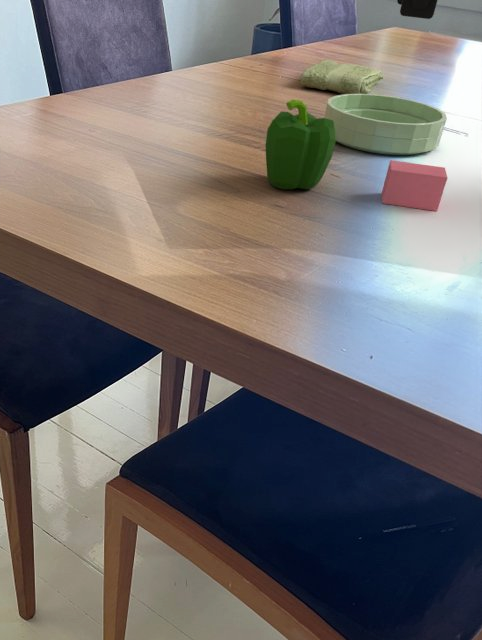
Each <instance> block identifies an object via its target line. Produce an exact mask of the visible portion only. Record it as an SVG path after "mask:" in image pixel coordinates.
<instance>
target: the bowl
mask: <svg viewBox="0 0 482 640" xmlns="http://www.w3.org/2000/svg"><path fill="white" fill-rule="evenodd" d="M323 118H326V119H330V120H333V121H334V127H335V136H336V143H339V144H341V145H342V146H345V147H349V148H352V149H355V150H359V151H363V152H367V153H374V154H381V155H389V156H390V155H391V156H408V155H409V156H410V155H418V154H421V153H426V152H431V151H434V150H436V148H438V147H439V146H440V143H441V138H442V136H443V133H444V129H445V125H446V122H447V119H448V117H447V114H446V112H444V111H443V110H441V109H439V108H437V107H435V106H433V105H430V104H428V103H423V102H421V101H417V100H413V99H409V98H403V97H398V96H393V95H392V96H391V95H384V94H376V93H375V94H373V93H370V94H369V93H364V94H338V95H334V96H332V97H329V98H328V99H327V102H326V108H325V113H324V117H323Z"/></svg>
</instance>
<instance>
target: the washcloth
mask: <svg viewBox="0 0 482 640" xmlns="http://www.w3.org/2000/svg"><path fill="white" fill-rule="evenodd" d="M383 79H384V74H383V73H382V71H381V70H379V69H376V68H373V67H369V66H368V67H366V66H363V65H361V64H359V65H357V64H352V63H348V64H347V63H337V62H336V61H334V60H331V59H326V60H320V61H319V62H317V63H315V64H314V65H312V66H309V67H308V68H306V69H304V71H303V72H302V74H301V76H300V85H301V86H303V87H305V88H310V89H316V90H321V91H331V92H335V93H338V94H340V95H343V94H369V92H371V91H372V89H373V88H374V86H376V84H378V83H379V82H380V81H381V80H383Z"/></svg>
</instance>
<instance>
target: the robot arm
mask: <svg viewBox="0 0 482 640" xmlns="http://www.w3.org/2000/svg"><path fill="white" fill-rule="evenodd" d="M396 1H397V4H398V5H400V9H399V14H400V16H402V17H407V18H408V17H409V18H417V19H424V20H430V19H432V18H433V17H434V15H435V12H436V7H437V4H438V0H396Z"/></svg>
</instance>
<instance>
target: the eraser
mask: <svg viewBox="0 0 482 640" xmlns="http://www.w3.org/2000/svg"><path fill="white" fill-rule="evenodd" d="M447 181H448V174H447V171H446V168H445V166H444V167H443V166H435V165H428V164H421V163H414V162H407V161H399V160H389V163H388V167H387V171H386V174H385V178H384V182H383V185H382V190H381V204H384V205H385V204H386V205H392V206H399V207H405V208H413V209H420V210H427V211H434V212H438V209H439V207H440V204H441V200H442V198H443V194H444V190H445V187H446V184H447Z"/></svg>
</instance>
